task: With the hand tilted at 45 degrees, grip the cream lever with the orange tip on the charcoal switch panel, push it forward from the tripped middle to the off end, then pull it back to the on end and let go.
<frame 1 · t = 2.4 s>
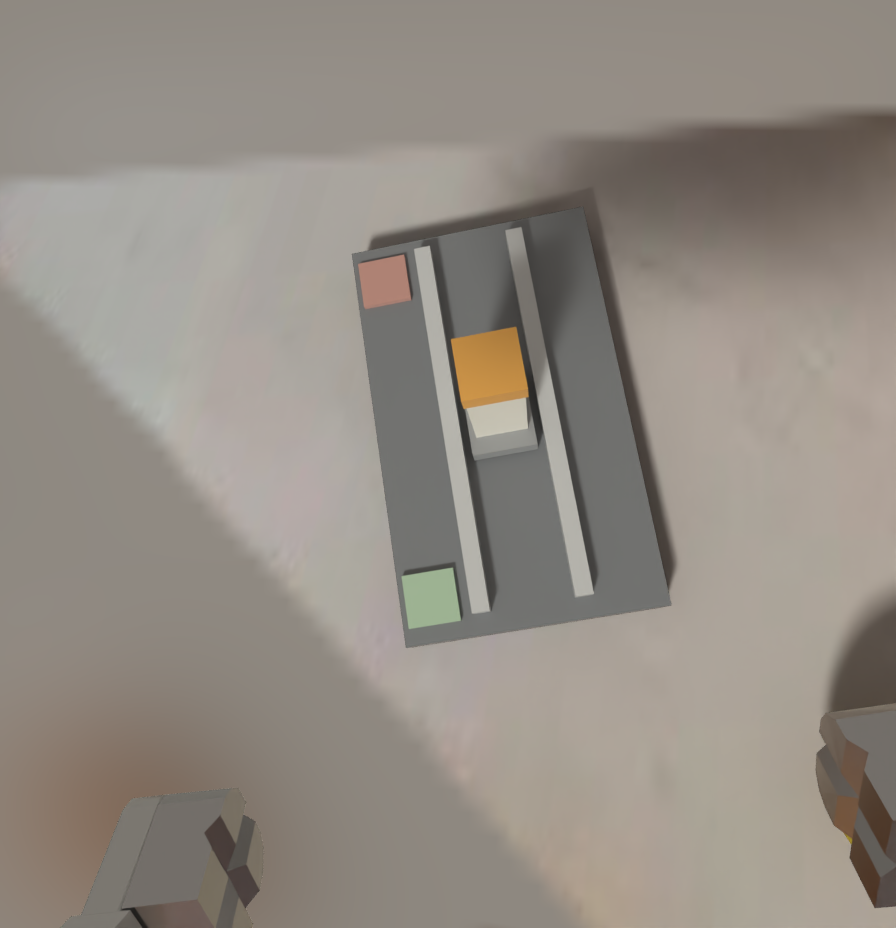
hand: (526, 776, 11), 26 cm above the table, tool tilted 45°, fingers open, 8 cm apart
switch panel: (501, 426, 38), on the table
breaker lever: (494, 391, 33), point 6 cm above the table, slide at 0.0 cm
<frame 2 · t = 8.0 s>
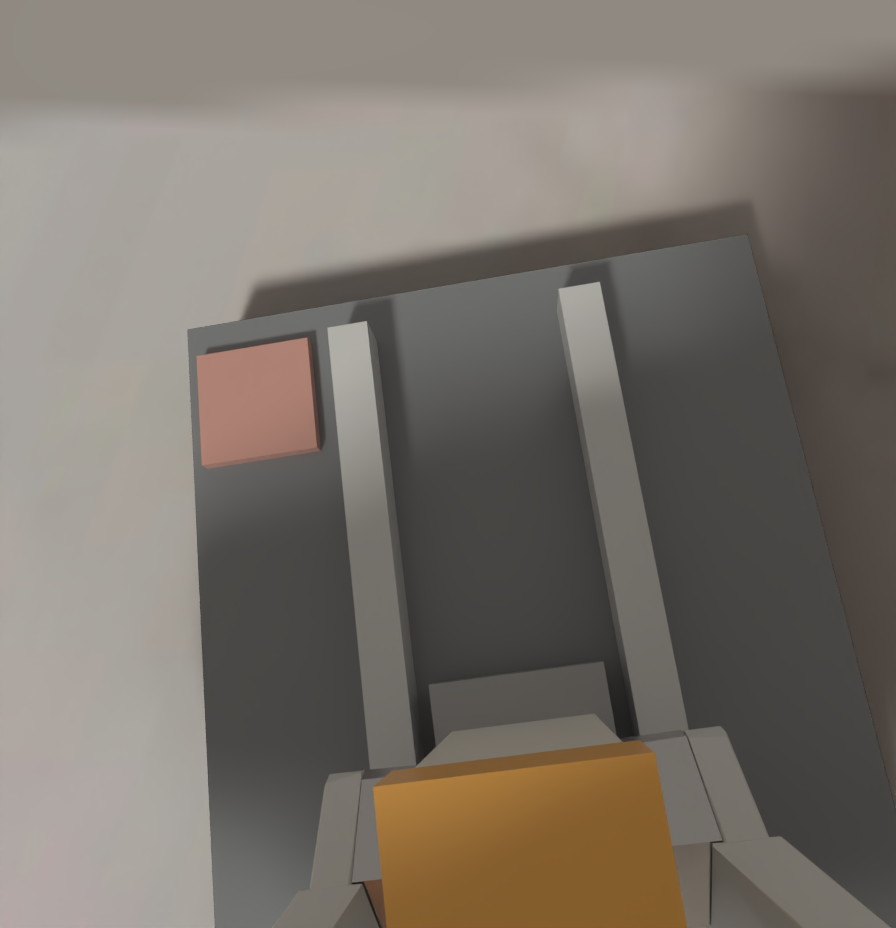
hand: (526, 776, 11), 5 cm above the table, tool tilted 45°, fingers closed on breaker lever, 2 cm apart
switch panel: (533, 769, 16), on the table
breaker lever: (533, 834, 10), point 6 cm above the table, slide at 0.0 cm, touching gripper
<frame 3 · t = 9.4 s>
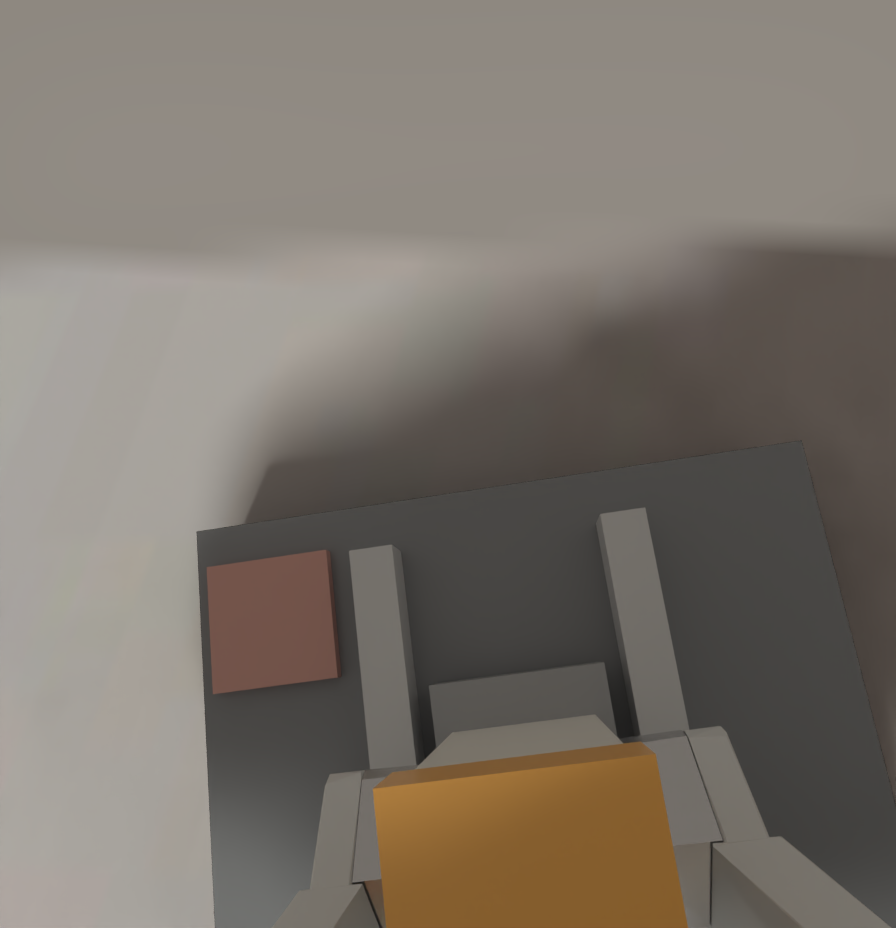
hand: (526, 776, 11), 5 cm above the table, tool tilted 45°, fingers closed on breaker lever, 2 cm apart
breaker lever: (534, 836, 10), point 6 cm above the table, slide at 4.5 cm, touching gripper
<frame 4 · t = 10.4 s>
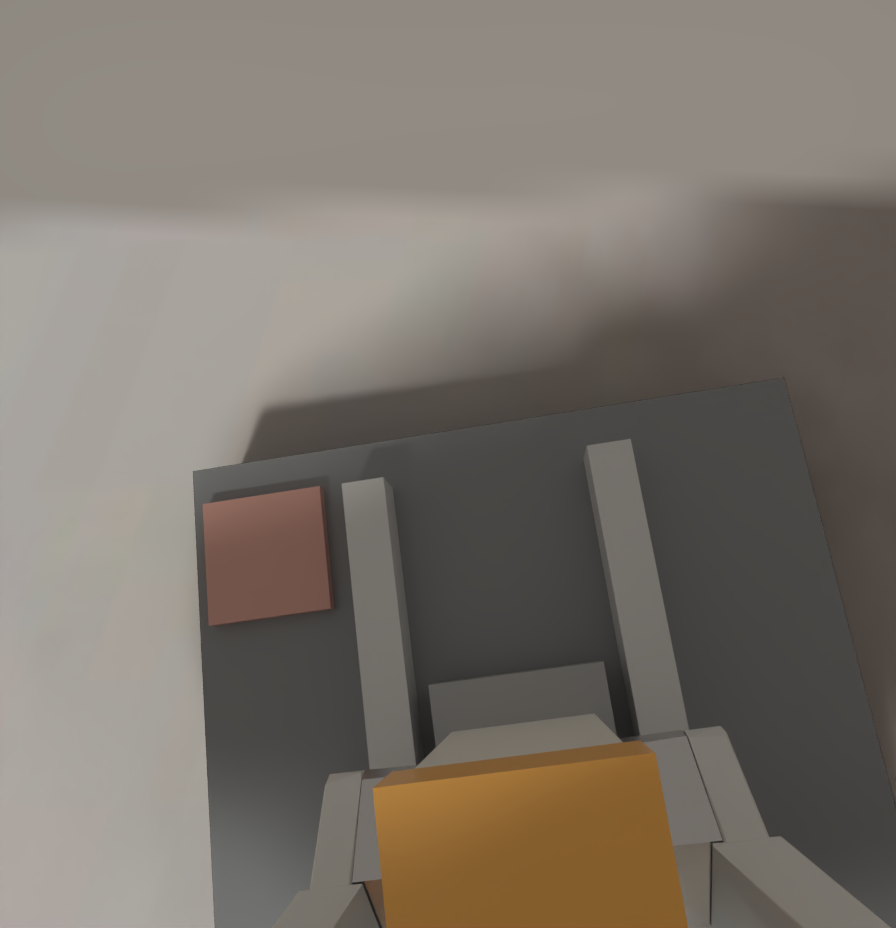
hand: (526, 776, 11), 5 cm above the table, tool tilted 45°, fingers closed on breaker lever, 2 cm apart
breaker lever: (534, 835, 10), point 6 cm above the table, slide at 3.2 cm, touching gripper
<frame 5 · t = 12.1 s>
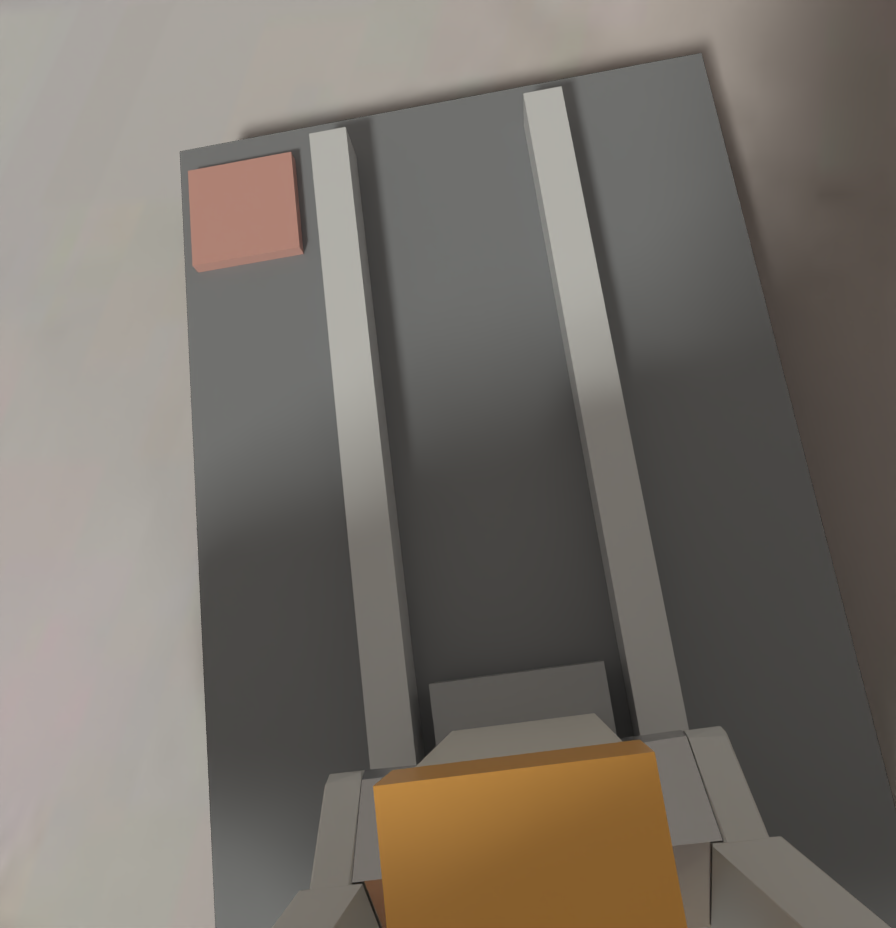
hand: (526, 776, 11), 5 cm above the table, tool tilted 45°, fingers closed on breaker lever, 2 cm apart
switch panel: (501, 550, 17), on the table
breaker lever: (534, 834, 10), point 6 cm above the table, slide at -4.5 cm, touching gripper
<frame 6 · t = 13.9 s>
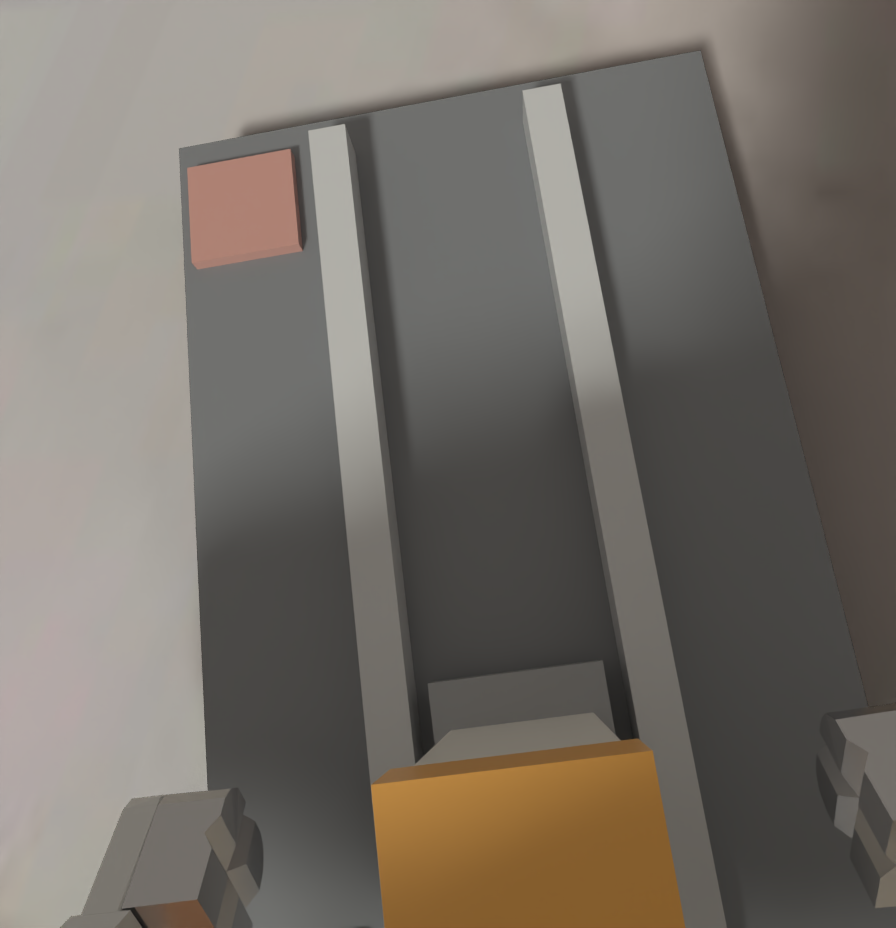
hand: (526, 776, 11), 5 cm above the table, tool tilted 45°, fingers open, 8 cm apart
switch panel: (500, 547, 17), on the table
breaker lever: (532, 833, 10), point 6 cm above the table, slide at -4.6 cm
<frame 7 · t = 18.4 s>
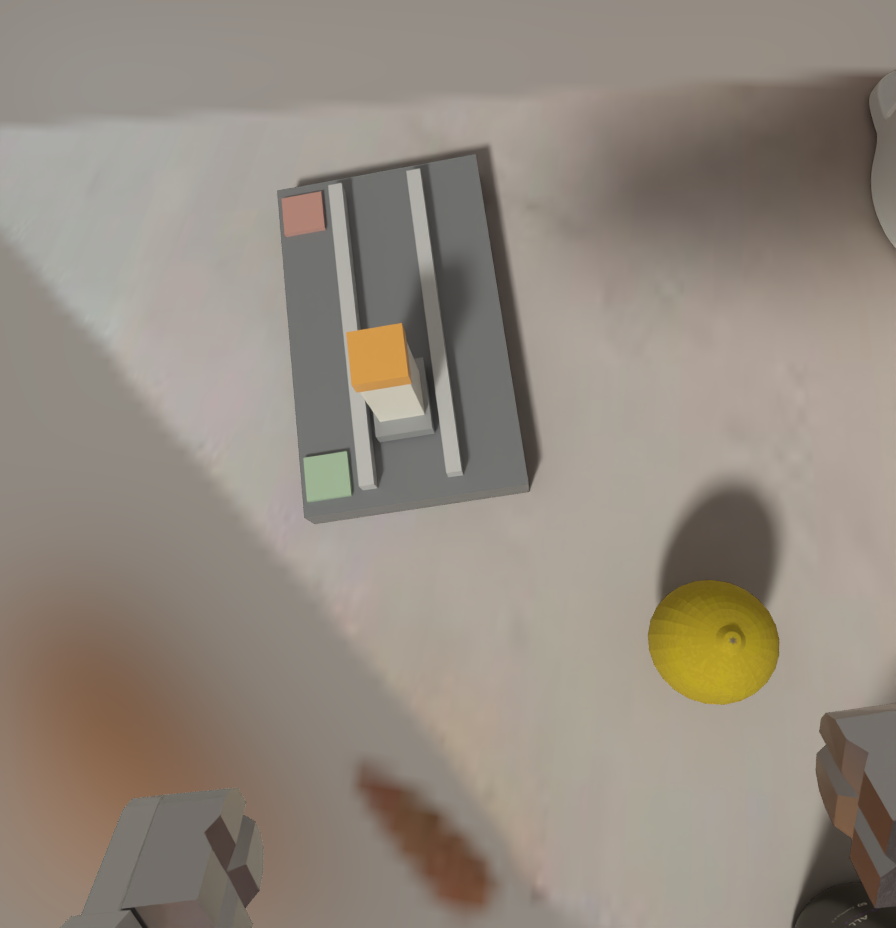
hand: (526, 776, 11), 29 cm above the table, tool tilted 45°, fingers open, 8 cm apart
switch panel: (400, 341, 44), on the table
breaker lever: (391, 380, 38), point 6 cm above the table, slide at -4.6 cm
lemon: (693, 642, 39), on the table
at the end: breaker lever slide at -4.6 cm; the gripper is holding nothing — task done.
